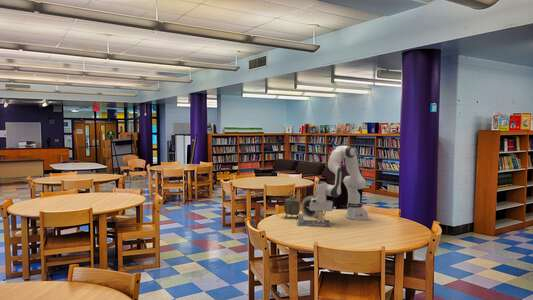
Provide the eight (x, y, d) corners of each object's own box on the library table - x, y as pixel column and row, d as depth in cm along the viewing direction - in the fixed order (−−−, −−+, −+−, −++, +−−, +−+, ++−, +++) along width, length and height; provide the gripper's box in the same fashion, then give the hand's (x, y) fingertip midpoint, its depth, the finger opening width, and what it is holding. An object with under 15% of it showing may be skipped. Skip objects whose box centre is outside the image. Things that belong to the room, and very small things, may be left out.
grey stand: (323, 221, 341) (323, 210, 340) (324, 224, 330) (324, 213, 330) (303, 221, 342) (303, 209, 342) (303, 224, 331) (303, 212, 331)
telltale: (314, 223, 333) (314, 220, 333) (314, 224, 331) (314, 220, 331) (312, 223, 333) (312, 220, 333) (312, 224, 331) (312, 220, 331)
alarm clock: (300, 214, 373) (301, 194, 372) (306, 213, 378) (306, 193, 377) (318, 218, 358) (318, 197, 357) (323, 217, 363) (323, 196, 362)
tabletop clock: (299, 217, 363) (300, 190, 362) (299, 219, 354) (300, 192, 353) (284, 216, 365) (284, 190, 363) (283, 218, 356) (284, 191, 354)
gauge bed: (329, 222, 345) (330, 214, 345) (331, 227, 329) (331, 218, 329) (298, 221, 347) (298, 213, 347) (298, 225, 331) (298, 217, 331)
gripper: (332, 199, 339) (332, 215, 340) (309, 199, 340) (308, 214, 341) (333, 201, 333) (333, 216, 334) (309, 200, 334) (309, 216, 335)
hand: (320, 215), depth 337 cm, fingers closed on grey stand, 4 cm apart
